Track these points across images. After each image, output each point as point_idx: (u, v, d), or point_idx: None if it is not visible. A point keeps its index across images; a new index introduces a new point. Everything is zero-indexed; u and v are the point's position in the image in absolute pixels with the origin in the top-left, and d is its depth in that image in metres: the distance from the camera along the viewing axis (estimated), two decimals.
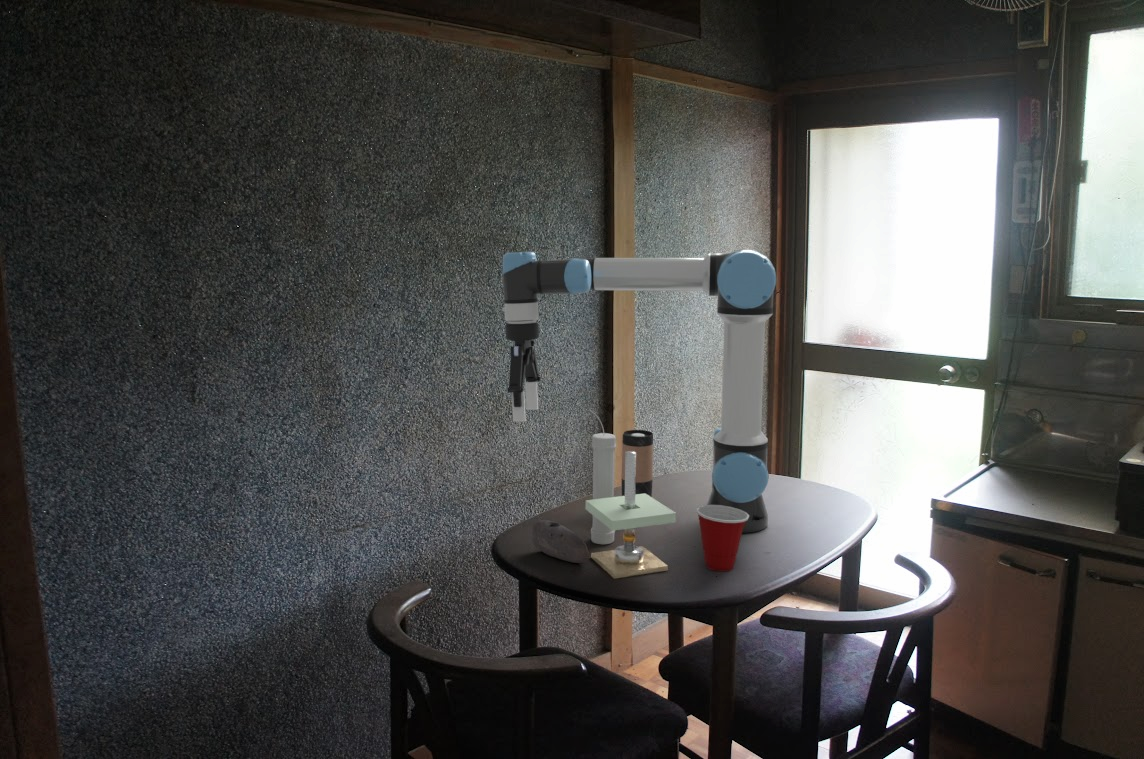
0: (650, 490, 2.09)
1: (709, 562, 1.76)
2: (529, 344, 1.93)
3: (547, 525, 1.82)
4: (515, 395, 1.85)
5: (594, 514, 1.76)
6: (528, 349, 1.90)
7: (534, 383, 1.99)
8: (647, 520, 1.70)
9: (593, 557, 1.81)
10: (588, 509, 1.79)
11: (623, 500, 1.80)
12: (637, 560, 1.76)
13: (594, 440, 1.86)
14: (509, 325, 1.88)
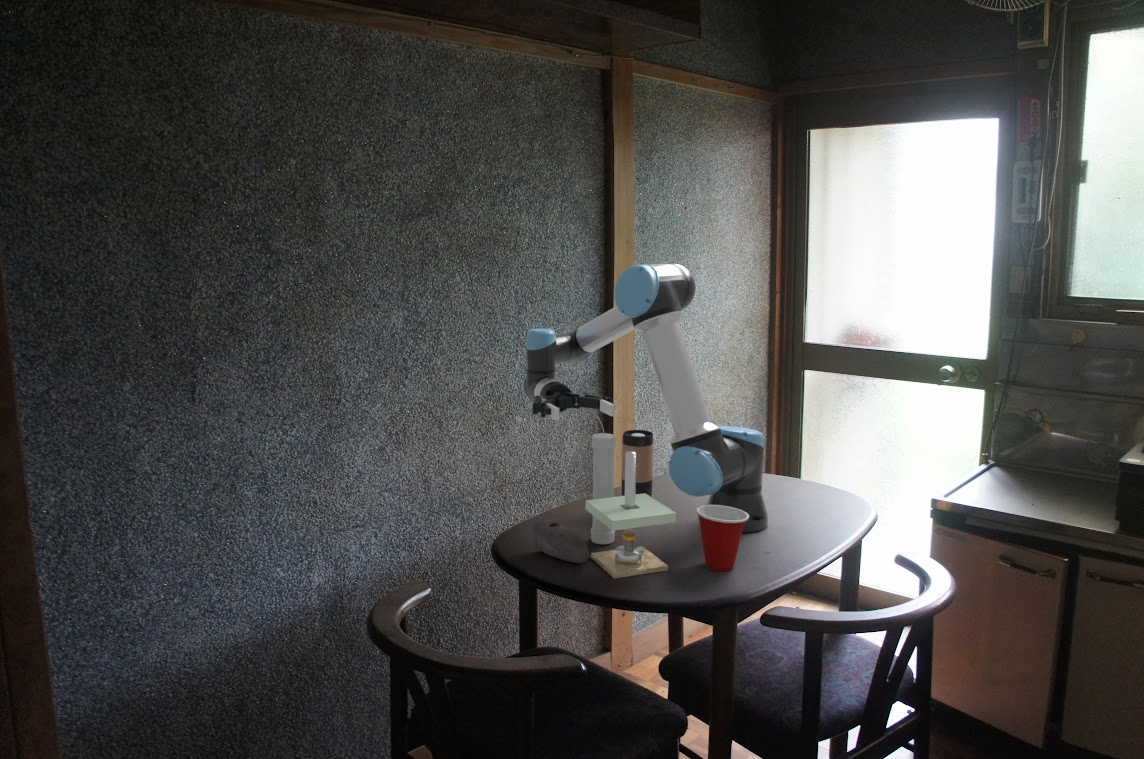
0: (650, 490, 2.09)
1: (709, 562, 1.76)
2: None
3: (547, 525, 1.82)
4: (542, 410, 1.99)
5: (594, 514, 1.76)
6: None
7: (600, 401, 2.04)
8: (647, 520, 1.70)
9: (593, 557, 1.81)
10: (588, 509, 1.79)
11: (623, 500, 1.80)
12: (637, 560, 1.76)
13: (594, 440, 1.86)
14: None
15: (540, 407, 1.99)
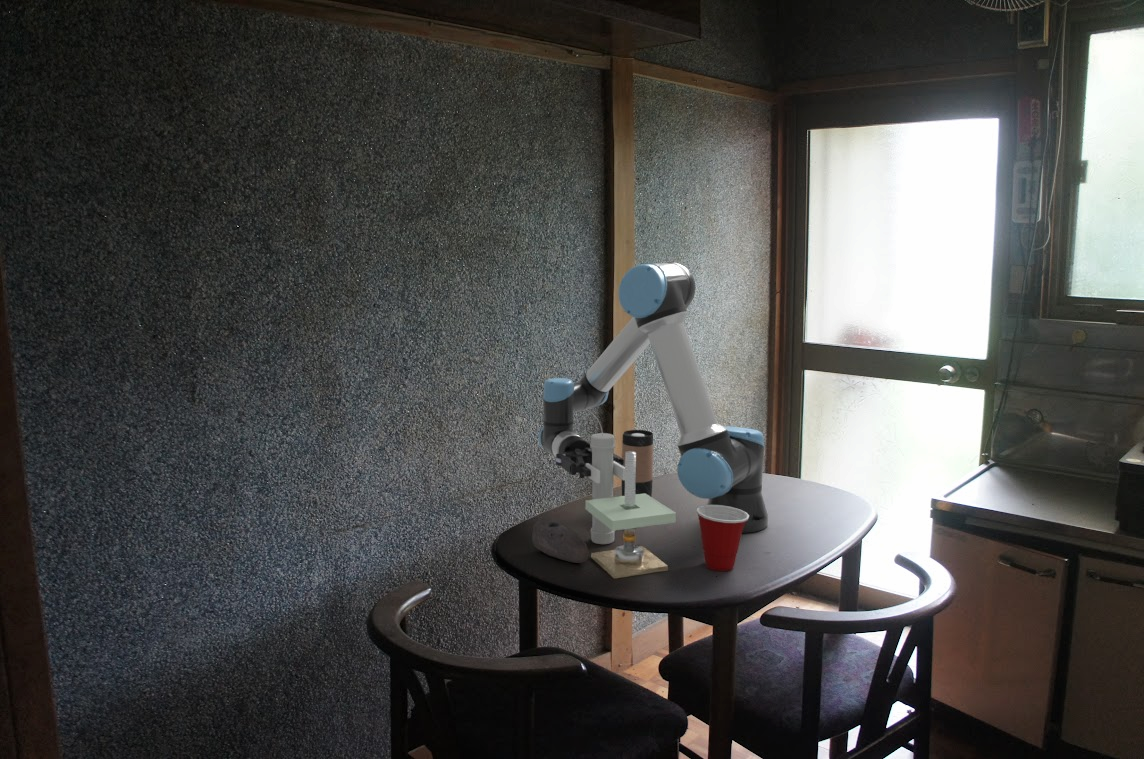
0: (650, 490, 2.09)
1: (709, 562, 1.76)
2: None
3: (547, 525, 1.82)
4: (581, 471, 1.88)
5: (594, 514, 1.76)
6: None
7: None
8: (647, 520, 1.70)
9: (593, 557, 1.81)
10: (588, 509, 1.79)
11: (623, 500, 1.80)
12: (637, 560, 1.76)
13: (592, 441, 1.86)
14: None
15: (579, 468, 1.89)
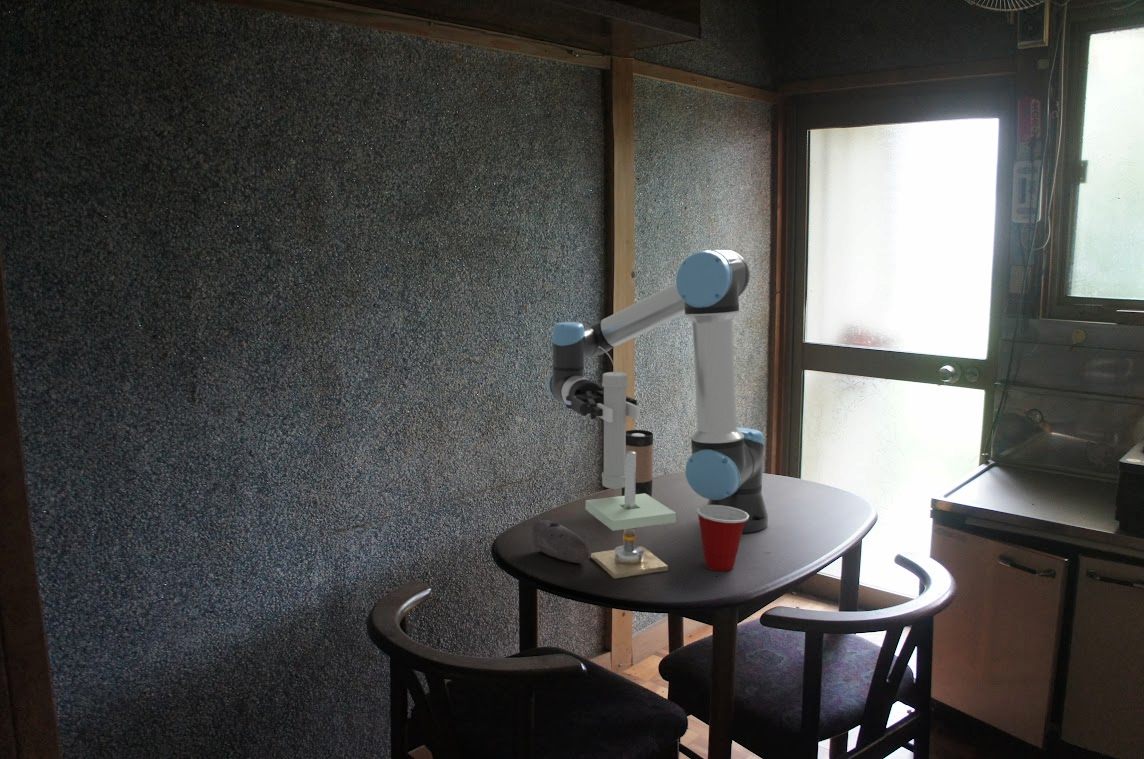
0: (650, 490, 2.09)
1: (709, 562, 1.76)
2: None
3: (547, 525, 1.82)
4: (593, 411, 1.79)
5: (594, 514, 1.76)
6: None
7: None
8: (647, 520, 1.70)
9: (593, 557, 1.81)
10: (588, 509, 1.79)
11: (623, 500, 1.80)
12: (637, 560, 1.76)
13: (604, 379, 1.77)
14: None
15: (590, 408, 1.80)
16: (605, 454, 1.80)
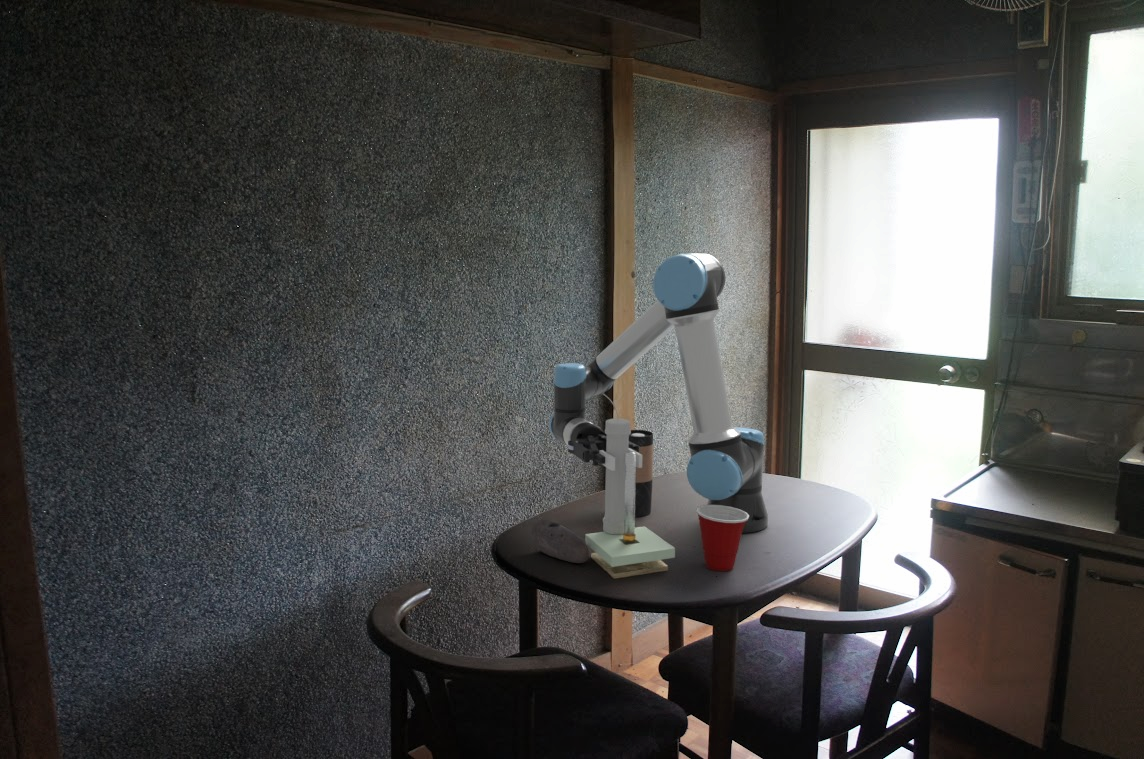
0: (650, 490, 2.09)
1: (709, 562, 1.76)
2: None
3: (547, 525, 1.82)
4: (595, 458, 1.80)
5: (594, 549, 1.77)
6: None
7: None
8: (646, 556, 1.72)
9: (593, 557, 1.81)
10: (588, 543, 1.80)
11: (622, 534, 1.82)
12: None
13: (607, 426, 1.78)
14: None
15: (592, 455, 1.80)
16: (606, 500, 1.81)
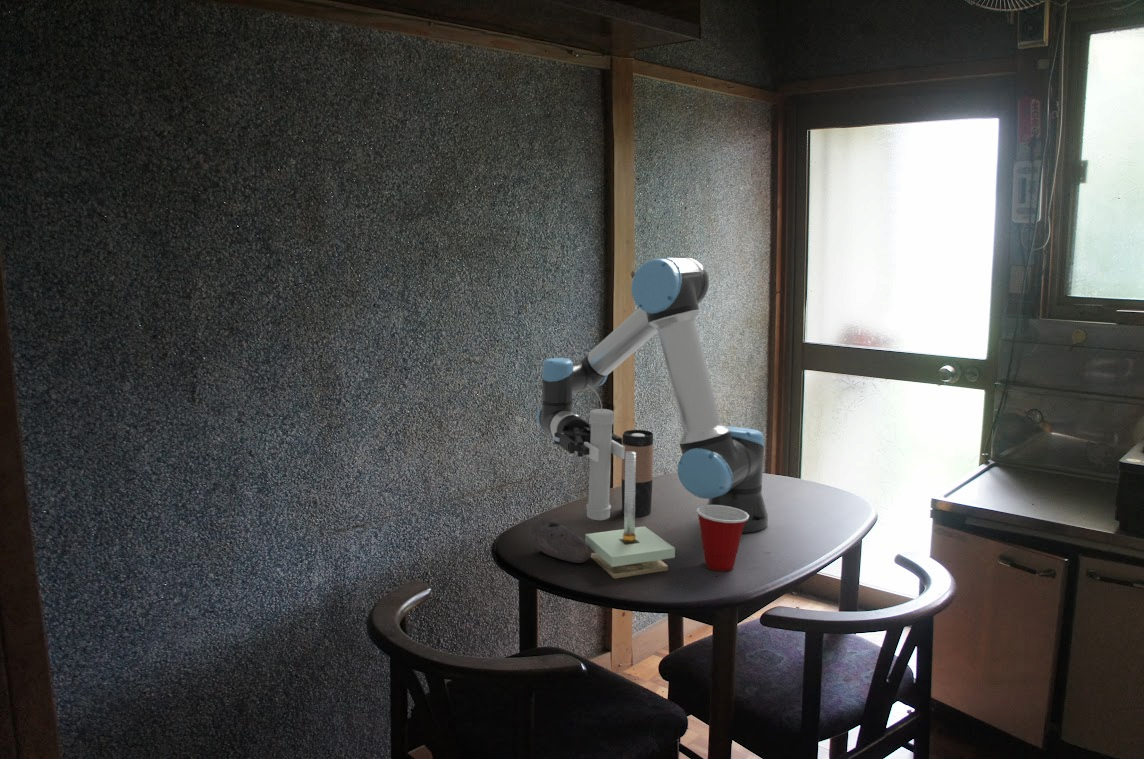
0: (650, 490, 2.09)
1: (709, 562, 1.76)
2: None
3: (547, 525, 1.82)
4: (580, 450, 1.88)
5: (594, 549, 1.77)
6: None
7: None
8: (646, 556, 1.72)
9: (593, 557, 1.81)
10: (588, 543, 1.80)
11: (622, 534, 1.82)
12: None
13: (591, 416, 1.86)
14: None
15: (577, 446, 1.88)
16: (590, 487, 1.89)
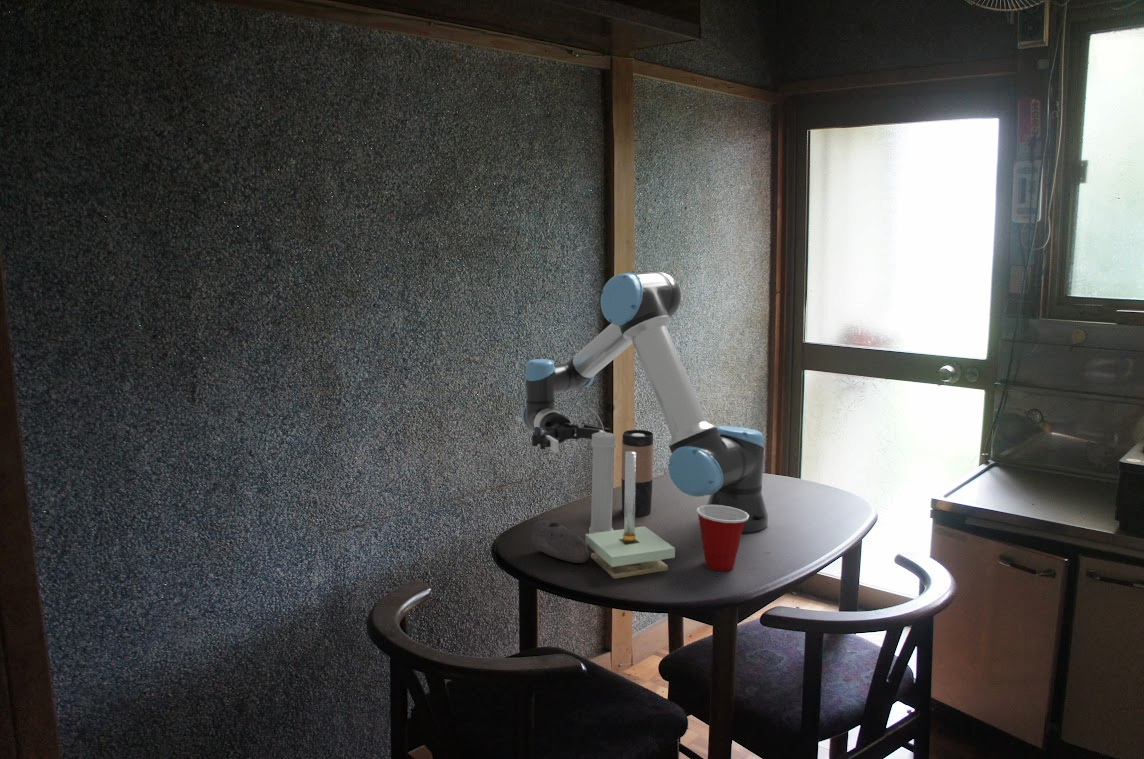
0: (650, 490, 2.09)
1: (709, 562, 1.76)
2: None
3: (547, 525, 1.82)
4: (542, 442, 2.00)
5: (594, 549, 1.77)
6: None
7: None
8: (646, 556, 1.72)
9: (593, 557, 1.81)
10: (588, 543, 1.80)
11: (622, 534, 1.82)
12: None
13: (593, 439, 1.87)
14: None
15: (539, 439, 2.01)
16: (592, 510, 1.90)
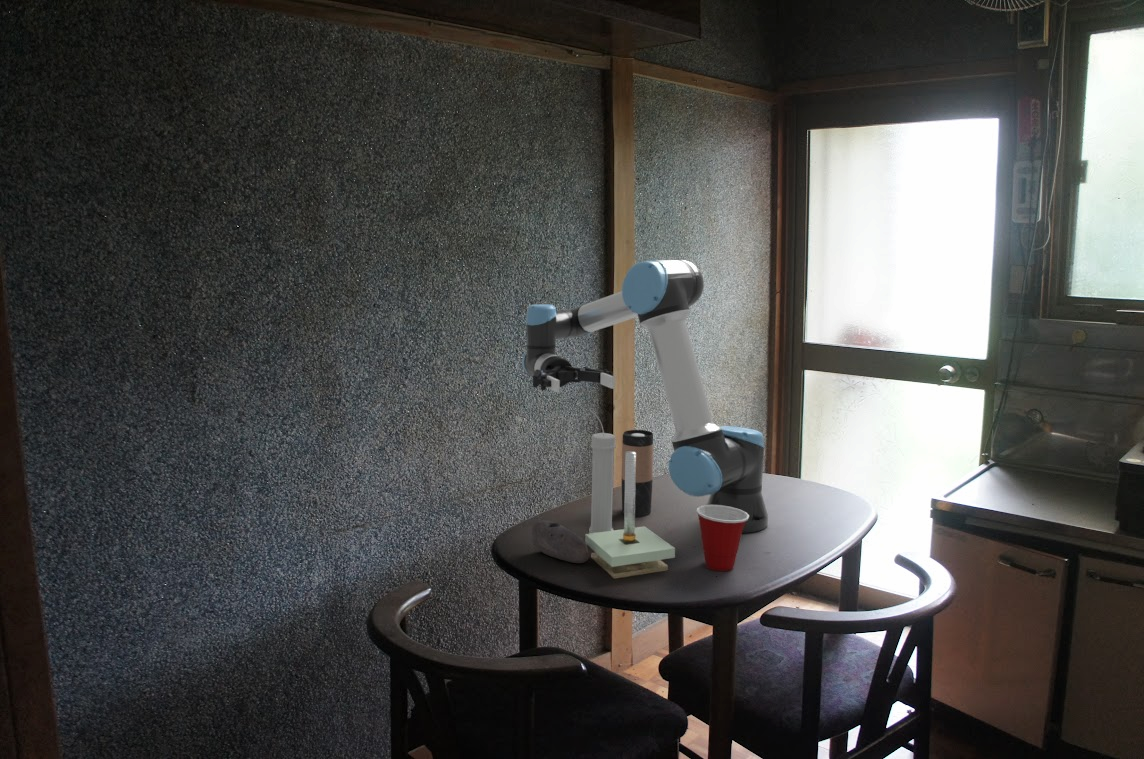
0: (650, 490, 2.09)
1: (709, 562, 1.76)
2: None
3: (547, 525, 1.82)
4: (543, 383, 1.98)
5: (594, 549, 1.77)
6: None
7: (600, 374, 2.03)
8: (646, 556, 1.72)
9: (593, 557, 1.81)
10: (588, 543, 1.80)
11: (622, 534, 1.82)
12: None
13: (593, 440, 1.86)
14: None
15: (540, 380, 1.98)
16: (592, 511, 1.90)
